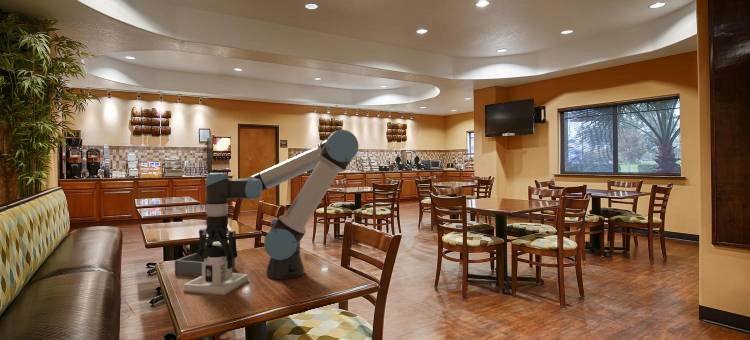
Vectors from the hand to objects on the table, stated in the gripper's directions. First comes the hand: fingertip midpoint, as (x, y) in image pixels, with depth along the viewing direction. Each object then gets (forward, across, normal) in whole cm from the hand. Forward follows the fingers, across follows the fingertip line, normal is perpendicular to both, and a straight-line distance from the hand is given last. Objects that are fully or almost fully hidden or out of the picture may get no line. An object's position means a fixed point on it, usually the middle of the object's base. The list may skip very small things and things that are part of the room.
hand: (217, 276), depth 146 cm
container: (+2, 0, 0) cm, 2 cm away
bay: (+4, +15, -15) cm, 22 cm away
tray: (+4, 0, 0) cm, 4 cm away
